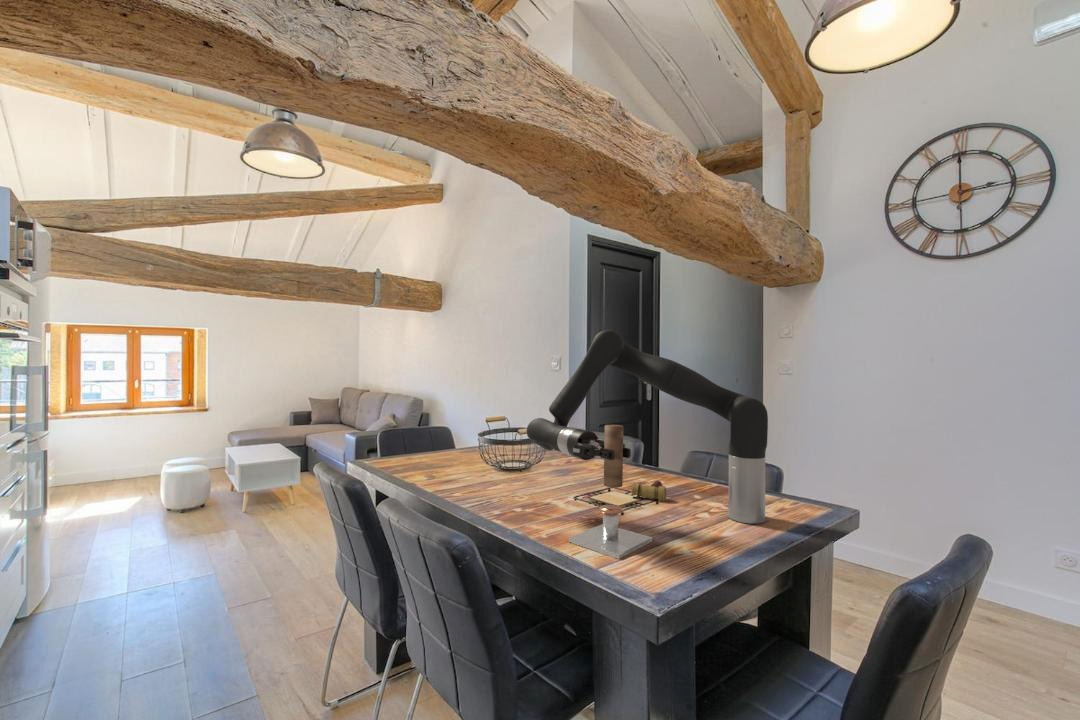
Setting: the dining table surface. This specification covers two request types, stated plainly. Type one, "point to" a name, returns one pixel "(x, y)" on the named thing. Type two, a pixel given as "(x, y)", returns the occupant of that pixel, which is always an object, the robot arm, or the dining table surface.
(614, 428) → the walnut dowel
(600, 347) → the robot arm
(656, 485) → the olive strapped bedroll
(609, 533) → the steel post
